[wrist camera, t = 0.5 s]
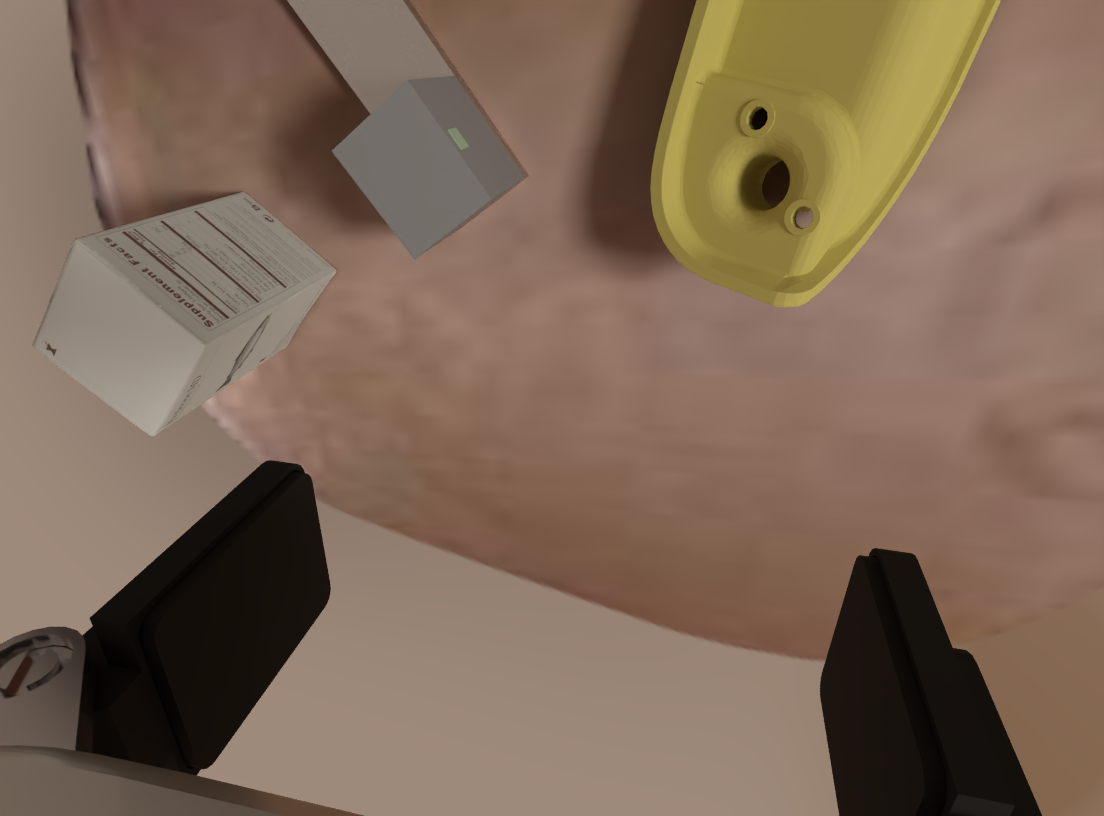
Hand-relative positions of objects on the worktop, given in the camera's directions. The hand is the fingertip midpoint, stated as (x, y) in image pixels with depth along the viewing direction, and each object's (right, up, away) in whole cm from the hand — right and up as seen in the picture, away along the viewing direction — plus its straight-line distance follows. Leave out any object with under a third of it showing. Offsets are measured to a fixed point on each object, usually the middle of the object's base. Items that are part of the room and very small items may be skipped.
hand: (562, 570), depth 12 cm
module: (-5, +16, +24) cm, 30 cm away
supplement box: (-18, +12, +31) cm, 38 cm away
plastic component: (+12, +20, +20) cm, 30 cm away
